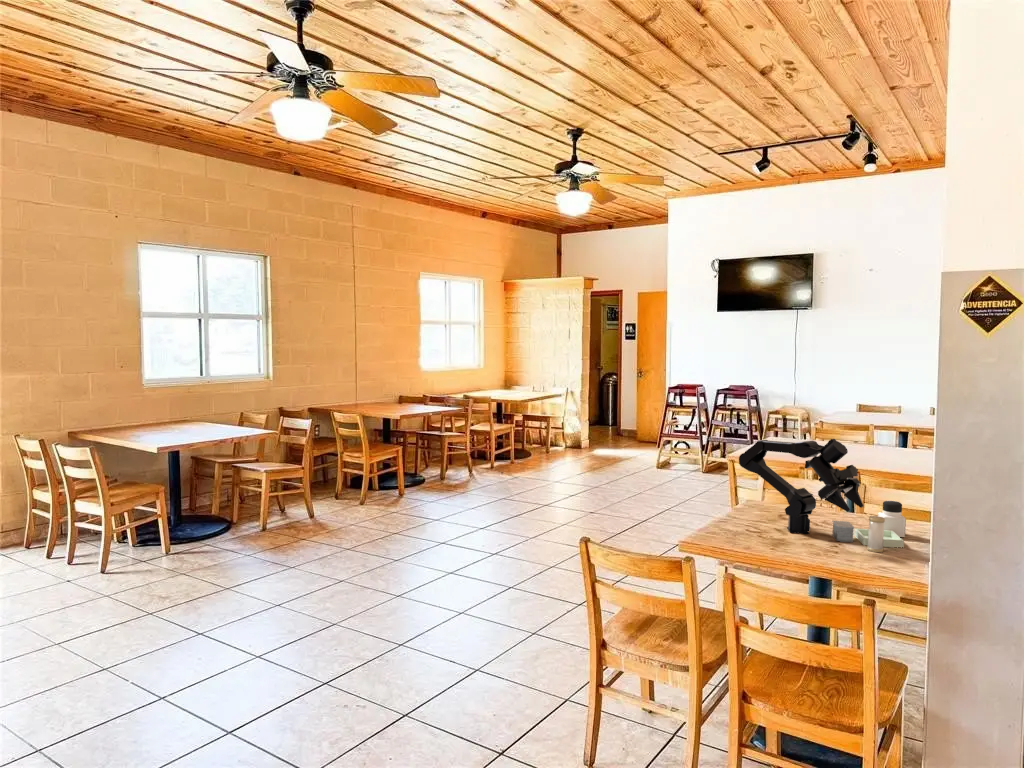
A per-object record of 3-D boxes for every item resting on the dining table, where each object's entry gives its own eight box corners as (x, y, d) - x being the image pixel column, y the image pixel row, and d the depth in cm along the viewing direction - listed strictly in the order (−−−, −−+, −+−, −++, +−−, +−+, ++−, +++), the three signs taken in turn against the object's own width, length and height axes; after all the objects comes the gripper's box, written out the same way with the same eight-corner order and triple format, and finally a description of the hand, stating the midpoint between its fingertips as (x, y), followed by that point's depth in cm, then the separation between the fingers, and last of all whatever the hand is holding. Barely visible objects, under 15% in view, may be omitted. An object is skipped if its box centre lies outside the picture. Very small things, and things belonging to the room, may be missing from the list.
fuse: (869, 552, 234) (871, 519, 233) (865, 548, 238) (867, 515, 238) (884, 553, 233) (886, 520, 232) (880, 549, 237) (882, 516, 237)
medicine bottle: (905, 538, 251) (906, 504, 250) (883, 536, 252) (884, 503, 251) (898, 532, 258) (900, 499, 257) (877, 531, 259) (878, 498, 258)
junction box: (836, 541, 245) (837, 526, 245) (830, 534, 254) (831, 519, 254) (853, 542, 244) (854, 527, 244) (846, 535, 253) (847, 520, 253)
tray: (863, 545, 241) (864, 538, 241) (854, 535, 253) (854, 528, 253) (903, 548, 239) (904, 540, 239) (892, 537, 251) (892, 530, 251)
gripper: (828, 460, 238) (859, 499, 230) (855, 454, 249) (886, 491, 241) (805, 479, 244) (835, 518, 236) (833, 473, 256) (862, 510, 248)
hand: (855, 509), depth 240 cm, fingers open, 9 cm apart
